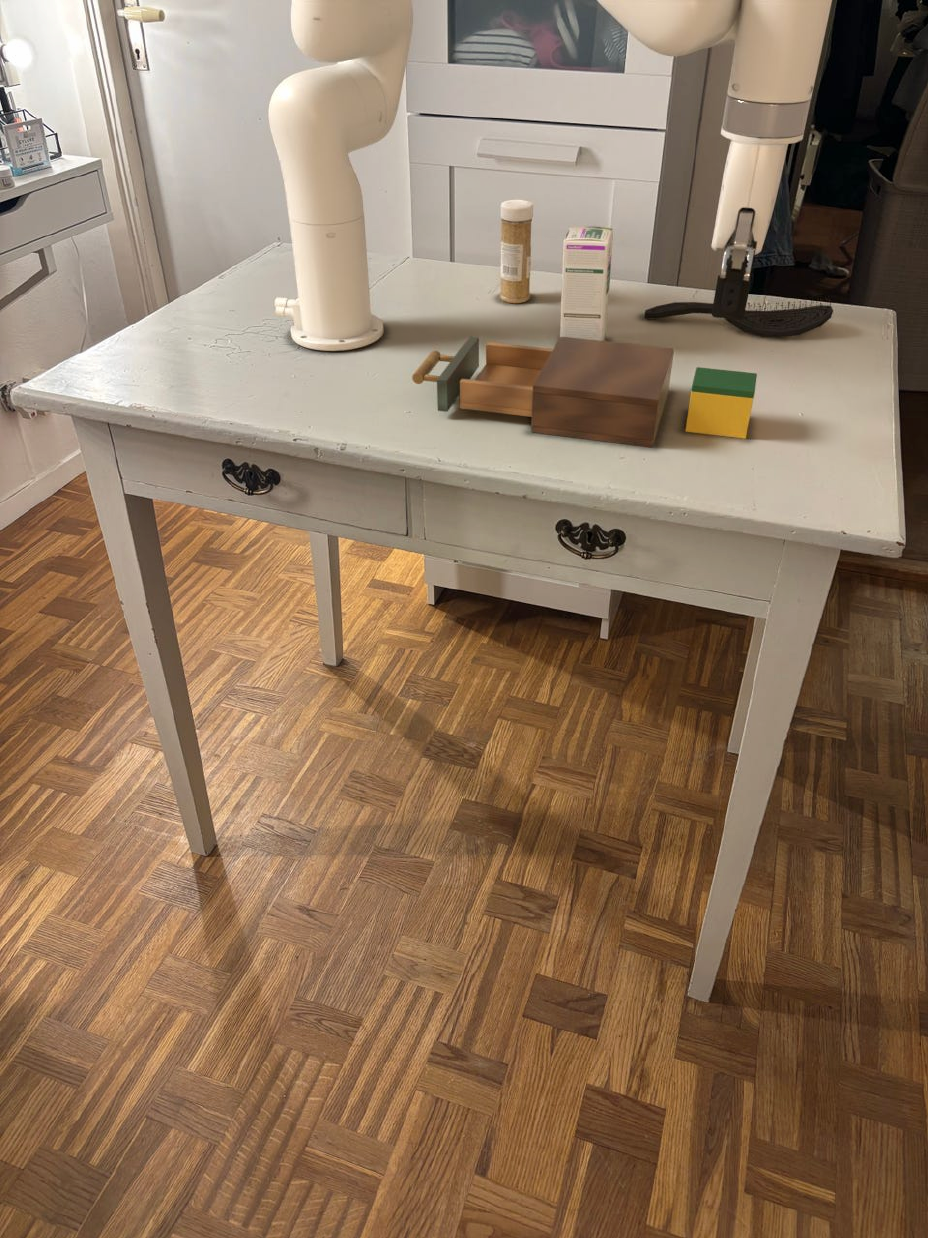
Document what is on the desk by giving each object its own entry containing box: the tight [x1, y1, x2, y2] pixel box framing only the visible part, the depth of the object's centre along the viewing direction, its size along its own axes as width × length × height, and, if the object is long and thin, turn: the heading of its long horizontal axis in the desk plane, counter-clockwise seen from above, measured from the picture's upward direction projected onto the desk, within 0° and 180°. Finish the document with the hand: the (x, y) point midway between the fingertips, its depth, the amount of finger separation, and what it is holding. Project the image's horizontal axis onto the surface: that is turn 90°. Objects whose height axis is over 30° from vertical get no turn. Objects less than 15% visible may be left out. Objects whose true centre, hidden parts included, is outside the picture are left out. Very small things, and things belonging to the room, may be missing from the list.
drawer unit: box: [530, 336, 675, 448], centre depth 108 cm, size 14×15×6 cm
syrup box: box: [559, 225, 614, 341], centre depth 121 cm, size 6×6×14 cm
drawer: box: [411, 335, 554, 418], centre depth 111 cm, size 17×13×4 cm
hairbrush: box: [643, 297, 834, 339], centre depth 130 cm, size 8×4×25 cm
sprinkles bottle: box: [499, 199, 534, 304], centre depth 136 cm, size 5×5×14 cm
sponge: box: [685, 366, 758, 440], centre depth 105 cm, size 7×5×6 cm
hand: (730, 300), depth 98 cm, fingers open, 9 cm apart
